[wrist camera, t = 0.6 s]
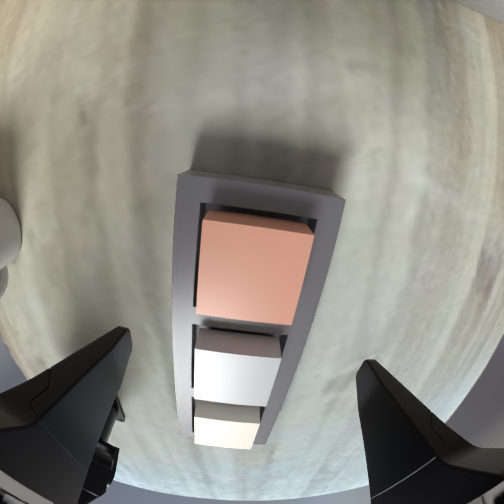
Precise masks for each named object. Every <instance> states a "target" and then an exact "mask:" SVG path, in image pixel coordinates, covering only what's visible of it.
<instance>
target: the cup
mask: <svg viewBox="0 0 504 504" xmlns="http://www.w3.org/2000/svg"><path fill="white" fill-rule="evenodd" d="M20 247H21V229H20V224H19V221H18V218H17V215H16V213H15V211H14V209H13V207H12V206H11V205H10V204H9V203H8V201H6V200H4V199H2V198H0V298H1V296H2V295H3V294H4V292H5V290H6V288H7V284H8V269H7V265H8V264H9V263H11V262H12V261H13V260H14V259H15V258H17V256H18V254H19V251H20Z"/></svg>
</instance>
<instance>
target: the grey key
mask: <svg viewBox="0 0 504 504" xmlns="http://www.w3.org/2000/svg"><path fill="white" fill-rule="evenodd" d="M281 359H282V358H281V350H280V342H279V337H272V336H262V335H252V334H243V333H235V332H227V331H219V330H212V329H205V328H200V329H199V333H198V337H197V341H196V345H195V357H194V399H198V400H205V401H212V402H220V403H228V404H238V405H250V406H264V407H266V405H267V402H268V399H269V396H270V393H271V390H272V387H273V384H274V381H275V378H276V375H277V372H278V369H279V365H280V362H281Z"/></svg>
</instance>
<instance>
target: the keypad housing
mask: <svg viewBox="0 0 504 504" xmlns="http://www.w3.org/2000/svg"><path fill="white" fill-rule="evenodd" d="M345 201H346V200H345V199H344V198H342V197H340V196H339V195H337V194H335V193H334V192H332V191H329V190H324V189H319V188H314V187H308V186H303V185H297V184H292V183H286V182H280V181H274V180H267V179H261V178H254V177H247V176H240V175H232V174H224V173H216V172H207V171H197V170H188V171H185V172H183V173H181V174H178V180H177V192H176V204H175V219H174V237H173V263H172V334H173V360H174V377H175V391H176V403H177V414H178V423H179V432H180V435H181V436H187V437H193V438H195V434H194V415H195V409H196V403H197V399H194V357H195V345H196V341H197V337H198V333H199V329H200V328H205V329H212V330H219V331H227V332H235V333H243V334H252V335H262V336H272V337H279V342H280V350H281V358H282V359H281V362H280V365H279V369H278V372H277V375H276V378H275V381H274V384H273V387H272V390H271V393H270V396H269V399H268V402H267V405H266V407H264V406H260V425H259V428H258V431H257V434H256V436H255V439H254V442H253V444H266V441H267V439H268V437H269V435H270V433H271V430H272V428H273V426H274V423H275V421H276V419H277V416H278V414H279V411H280V409H281V407H282V404H283V402H284V399H285V397H286V394H287V392H288V389H289V387H290V384H291V381H292V379H293V376H294V373H295V371H296V368H297V365H298V363H299V360H300V357H301V354H302V351H303V349H304V346H305V343H306V340H307V337H308V334H309V331H310V328H311V325H312V322H313V319H314V316H315V313H316V309H317V306H318V303H319V300H320V296H321V293H322V290H323V286H324V283H325V279H326V276H327V272H328V269H329V265H330V262H331V258H332V254H333V250H334V246H335V243H336V239H337V235H338V231H339V227H340V222H341V218H342V214H343V209H344V205H345ZM209 209H212V210H219V211H227V212H235V213H242V214H249V215H256V216H263V217H270V218H277V219H283V220H290V221H296V222H302V223H306V224H307V225H308V227H309V228H310V230H311V231H312V233H313V234H314V239H313V244H312V248H311V252H310V256H309V261H308V265H307V269H306V273H305V277H304V281H303V284H302V288H301V292H300V296H299V300H298V303H297V307H296V311H295V314H294V318H293V322H292V325H283V324H273V323H263V322H254V321H245V320H237V319H229V318H222V317H215V316H208V315H201V314H196V304H197V287H198V271H199V258H200V245H201V233H202V223H203V218H204V217H205V215H206V214H207V212H208V211H209Z"/></svg>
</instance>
